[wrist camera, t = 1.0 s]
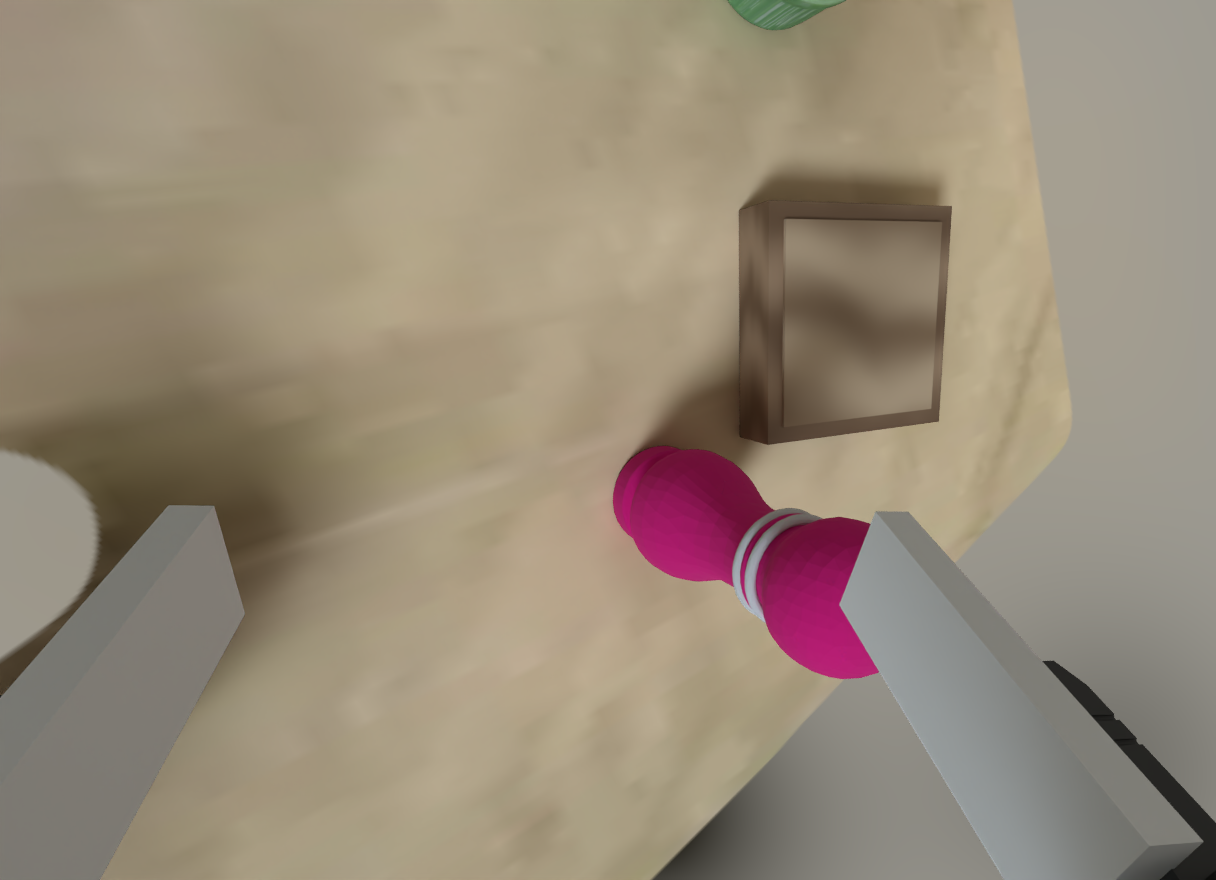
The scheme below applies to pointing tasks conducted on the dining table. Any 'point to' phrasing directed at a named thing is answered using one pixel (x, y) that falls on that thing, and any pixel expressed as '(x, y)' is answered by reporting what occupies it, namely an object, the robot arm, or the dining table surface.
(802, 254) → the plinth
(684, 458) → the pepper mill
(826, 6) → the ramekin
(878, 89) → the dining table surface
